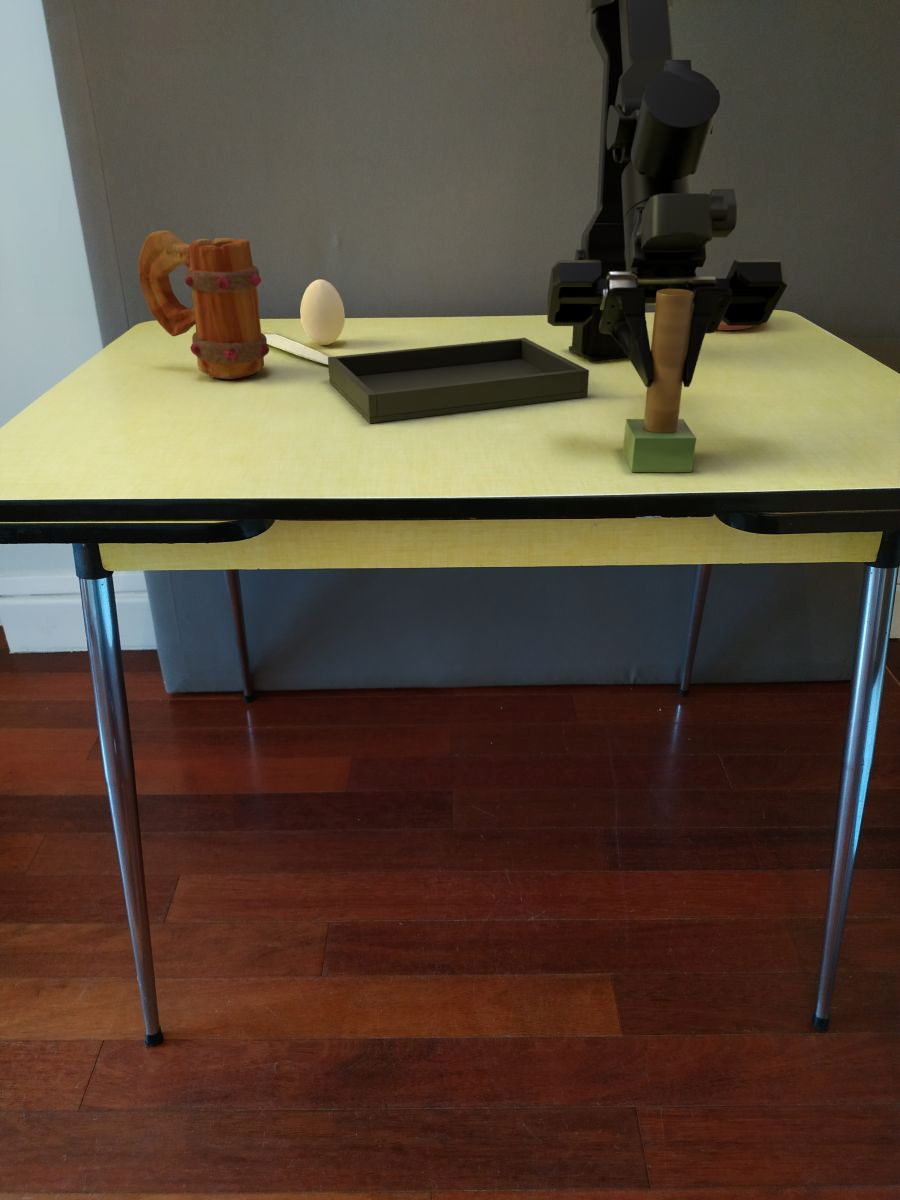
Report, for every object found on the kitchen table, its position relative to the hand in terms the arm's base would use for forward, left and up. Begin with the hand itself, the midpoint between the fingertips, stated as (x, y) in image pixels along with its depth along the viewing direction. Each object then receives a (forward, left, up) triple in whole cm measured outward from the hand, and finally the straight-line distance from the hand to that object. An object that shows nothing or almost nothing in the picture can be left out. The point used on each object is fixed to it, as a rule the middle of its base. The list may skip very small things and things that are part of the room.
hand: (668, 384), depth 73 cm
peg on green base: (-1, -1, -7) cm, 7 cm away
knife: (+21, -57, -7) cm, 61 cm away
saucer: (-38, -44, -7) cm, 59 cm away
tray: (+7, -28, -7) cm, 30 cm away
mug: (+30, -45, -7) cm, 55 cm away
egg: (+15, -53, -7) cm, 56 cm away
